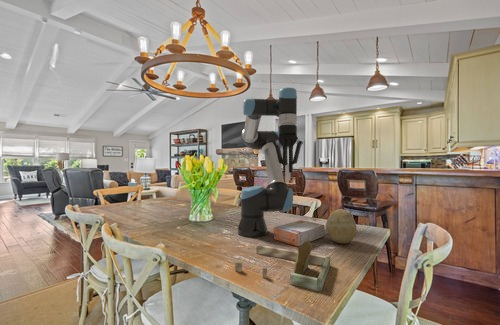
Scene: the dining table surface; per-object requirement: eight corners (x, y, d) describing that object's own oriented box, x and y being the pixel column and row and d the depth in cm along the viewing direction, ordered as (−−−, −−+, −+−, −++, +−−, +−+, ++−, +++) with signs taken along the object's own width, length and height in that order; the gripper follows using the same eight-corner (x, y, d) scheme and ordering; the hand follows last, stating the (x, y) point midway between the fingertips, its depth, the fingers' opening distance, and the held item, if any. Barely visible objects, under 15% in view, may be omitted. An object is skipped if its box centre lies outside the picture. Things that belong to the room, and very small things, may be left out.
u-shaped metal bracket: (235, 271, 79) (235, 262, 79) (257, 252, 95) (257, 244, 95) (321, 291, 67) (321, 281, 67) (330, 265, 83) (330, 257, 83)
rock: (304, 277, 70) (324, 263, 76) (289, 250, 74) (309, 239, 80) (285, 285, 78) (305, 272, 84) (272, 260, 81) (292, 249, 87)
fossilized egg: (356, 249, 97) (356, 213, 97) (324, 245, 102) (324, 210, 102) (356, 240, 109) (356, 207, 109) (327, 236, 114) (327, 205, 114)
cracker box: (301, 231, 124) (273, 239, 110) (301, 219, 124) (273, 226, 110) (324, 237, 113) (297, 247, 100) (324, 224, 113) (297, 233, 100)
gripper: (270, 125, 101) (270, 180, 101) (300, 122, 95) (300, 181, 95) (276, 127, 107) (276, 179, 108) (305, 125, 102) (305, 180, 102)
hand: (287, 180), depth 102 cm, fingers closed
